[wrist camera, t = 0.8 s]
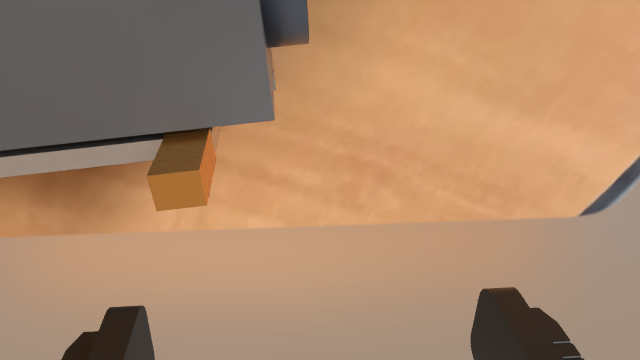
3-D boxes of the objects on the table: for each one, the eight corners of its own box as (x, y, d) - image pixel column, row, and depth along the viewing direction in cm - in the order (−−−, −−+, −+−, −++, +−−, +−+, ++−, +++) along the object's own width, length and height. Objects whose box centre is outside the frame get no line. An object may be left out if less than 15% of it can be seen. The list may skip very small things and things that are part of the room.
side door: (222, 76, 30) (199, 169, 19) (227, 101, 31) (206, 205, 20) (18, 98, 29) (-123, 206, 19) (28, 123, 30) (-102, 241, 20)
